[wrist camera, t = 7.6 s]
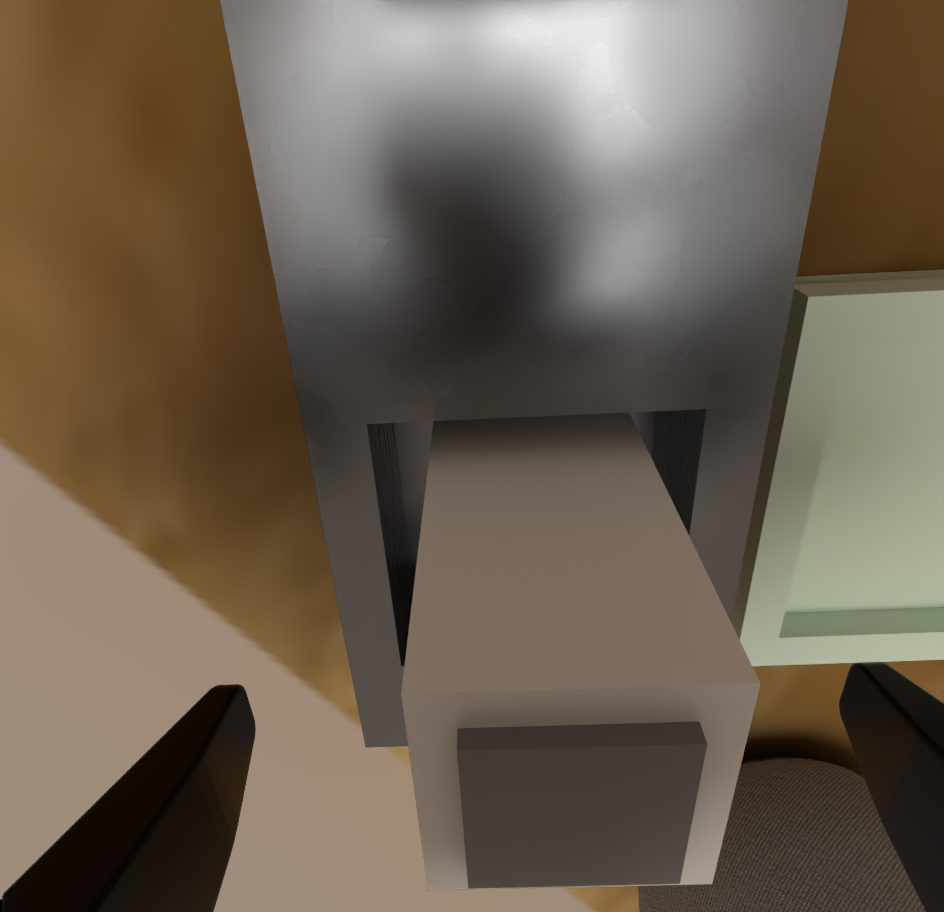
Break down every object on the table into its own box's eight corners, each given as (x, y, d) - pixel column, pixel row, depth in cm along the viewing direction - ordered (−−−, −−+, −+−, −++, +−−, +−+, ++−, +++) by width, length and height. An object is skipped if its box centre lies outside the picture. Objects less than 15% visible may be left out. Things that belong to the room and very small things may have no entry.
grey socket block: (222, -443, 9) (-340, -1640, 3) (801, -488, 9) (1598, -1887, 3) (385, 625, 19) (341, 898, 13) (665, 615, 19) (764, 887, 12)
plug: (619, 392, 14) (771, 705, 7) (609, 541, 16) (719, 907, 9) (435, 400, 14) (399, 716, 7) (447, 547, 16) (426, 913, 9)
